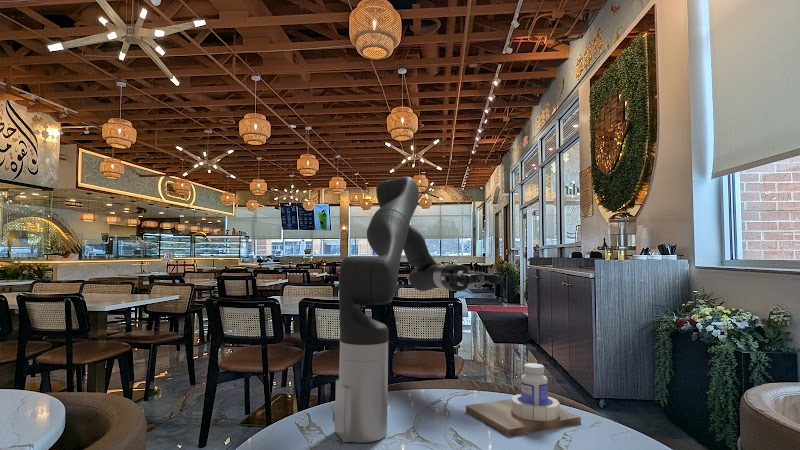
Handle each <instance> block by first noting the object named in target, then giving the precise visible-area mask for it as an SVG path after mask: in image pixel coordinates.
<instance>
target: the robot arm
mask: <svg viewBox="0 0 800 450" xmlns="http://www.w3.org/2000/svg"><path fill="white" fill-rule="evenodd" d="M375 191H376V199H377V203H378V205H379V209H377V210H376V211H375V213H374V214H373V216H372V218H371V219H370V222H369V224H368V227H367V230H366V240H367V242H368V244H369V247H370V248H371V250H373V252H374V253H375V254H376V256H361V255H360V256H359V255H358V256H357V255H356V256H347V257H344V259H342V261H341V264H340V266H339V271H338V294H339V295H338V297H339V299H338V300H339V301H338V302H339V303H338V304H339V305H338V306H339V319H338V320H339V361H338V362H339V364H338V365H339V367H338V369H339V370H338V379H336V380H335V397H334V398H335V399H334V400H335V402H334V405H335V406H334V407H335V409H334V432H335V433H336V435H337V436H338V437H339V439H340V440H341V441H342V442H343V443H358V444H359V443H362V444H364V443H372V442H377V441H379V440H382V439H383V438H385V437H386V436H387V433H388V385H389V384H388V379H389V377H388V376H389V328H388V326H387V325H386V324H385V323H382V322H380V321H378V320H375V319H373V318H372V317H370V316H368V315H367V314H366V313H364V312H363V311H362V310H361V307H360V305H368V306H371V305H374V306H381V305H382V306H383V305H387V304H390V303H391V302H392V301H393V298H394V297H395V294H396V291H397V286H398V285H397V284H398V280H399V272H400V271H399V270H400V266H401V258H402V256H403V255H402V254H403V253H404V255H405V258H406V260H407V262H408V264H409V265H410V266H411V267H413V268H414V269H413V270H412V271H411V272H410V273H409V274H408V282H409V284H410V286H411V287H412V288H413V289H415V290H417V291H421V292H427V291H432V290H433V289H442V290H446V291H453V292H463V291H465V290H467V288H469V287H470V286H483V285H485V284H488V285H492V284H493V285H499V284H500V282H501V276H500V275H499V274H497V273H485V272H484V271H473V270H470V269H469V268H468V267H467V266H466V265H464V264H462V263H461V264H460V263H442V264H441V263H439V264H438V263H437V262H436V260H435V259H434V258H433V257H432V254H431V253H430V252H429V248H428V245H427V243H426V240H425V238H424V236H423V235H422V234H421V232H420V231H418V229H416V228H415V227H414V226H412V225H411V220H412V217H413V215H414V214H415V211H416V209H417V206H418V204H419V199H420V197H419V196H420V194H419V192H420V190H419V187H418V185H417V182H416V181H415V179H414V178H413V177H410V176H400V177H396V178H391V179H386V180H383V181H380V182H378V183H377V185H376V189H375ZM478 281H479V282H478Z"/></svg>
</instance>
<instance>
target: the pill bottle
mask: <svg viewBox="0 0 800 450" xmlns="http://www.w3.org/2000/svg"><path fill="white" fill-rule="evenodd" d="M523 371H524V374H522V375H521V377H520V391H521V392H520V394H521V402H522V403H524V404H528V405H533V406H547V405H548V396H549V387H548V386H549V383H548V381H549V380H548V378H547V376H545V375H544V374H545V367H544V365H543V364H541V363H535V362H532V363H531V362H530V363H529V362H528V363H525V364H523Z"/></svg>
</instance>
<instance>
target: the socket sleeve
mask: <svg viewBox="0 0 800 450" xmlns="http://www.w3.org/2000/svg"><path fill="white" fill-rule="evenodd" d="M510 399H511V409H512V412H513V414H515V415H517V416H519V417H522V418H525V419H529V420H534V421H550V420H556V419H557V418H558V417H559V416H560V408H561V404H560V402H559V400H558V399H556V398H554V397H552V396H549V395H548V405H547V406H533V405H528V404H524V403H522V402H521V393H520V394H519V393H518V394H514V395H513V396H512V397H511V398H510Z"/></svg>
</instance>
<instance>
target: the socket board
mask: <svg viewBox="0 0 800 450" xmlns="http://www.w3.org/2000/svg"><path fill="white" fill-rule="evenodd" d="M465 412H467V413H468V414H470V415H472V416H474V417H475V418H476V419H479V420H480V421H482V422H484V423H486V424H487V425H489V426H490V427H492V428H494V429H496V430H498V431H499V432H501V433H503V434H505V435H506V436H508V437H513V436H517V435H522V434H528V433H534V432H539V431H545V430H550V429H555V428H562V427H567V426H573V425H578V424H581V423H582V417H581V416H579V415H577V414H575V413H573V412H570V411H569V410H568V411H567V410H565V409H563V408H561V407H560V416H559V417H558V418H557V419H556V420H550V421H534V420H529V419H525V418H522V417H519V416H517V415H515V414H513V412H512V409H511V398H508V399H507V398H506V399H503V400H502V399H501V400H493V401H487V402H480V403H473V404H465Z"/></svg>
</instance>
